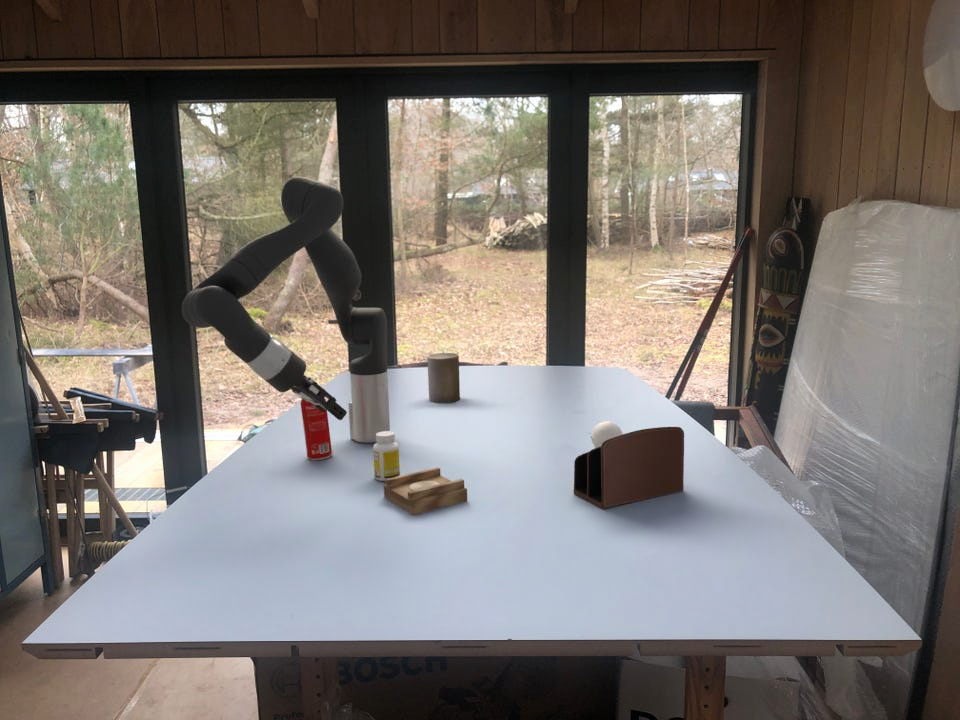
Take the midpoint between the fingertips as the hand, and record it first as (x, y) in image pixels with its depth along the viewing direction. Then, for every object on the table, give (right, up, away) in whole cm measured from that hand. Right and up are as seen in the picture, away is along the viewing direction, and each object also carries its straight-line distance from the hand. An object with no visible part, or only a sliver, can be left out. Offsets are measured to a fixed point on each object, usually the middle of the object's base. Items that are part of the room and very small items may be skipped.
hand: (334, 412), depth 153 cm
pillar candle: (+18, -2, +80) cm, 82 cm away
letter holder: (+59, -16, -2) cm, 61 cm away
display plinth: (+19, -17, -3) cm, 25 cm away
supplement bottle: (+9, -15, +10) cm, 20 cm away
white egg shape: (+58, -11, +25) cm, 64 cm away
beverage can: (-9, -12, +25) cm, 29 cm away
